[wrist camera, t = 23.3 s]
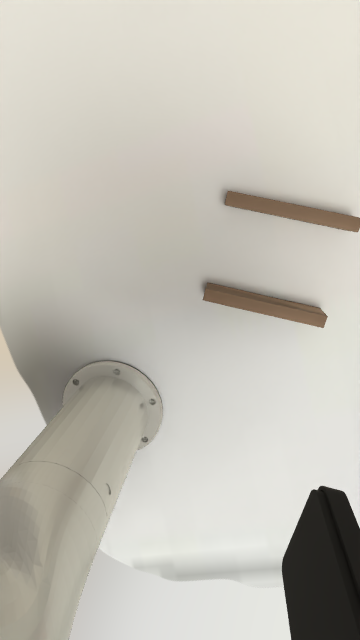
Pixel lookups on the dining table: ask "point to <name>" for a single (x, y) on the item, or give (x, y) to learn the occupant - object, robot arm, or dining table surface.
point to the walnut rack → (267, 303)
